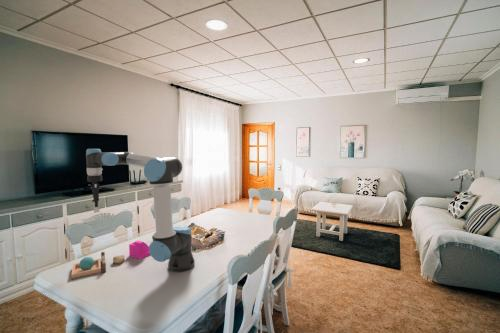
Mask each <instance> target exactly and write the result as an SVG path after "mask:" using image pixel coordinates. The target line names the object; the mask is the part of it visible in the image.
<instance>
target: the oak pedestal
mask: <svg viewBox="0 0 500 333" xmlns="http://www.w3.org/2000/svg"><path fill="white" fill-rule="evenodd" d="M112 261H113V264H114V265H121V264H124V262H125V255H123V254H119V255H115V256H113V258H112Z"/></svg>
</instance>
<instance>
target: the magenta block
mask: <svg viewBox="0 0 500 333" xmlns="http://www.w3.org/2000/svg"><path fill="white" fill-rule="evenodd" d="M149 246H150V245H148V244H147V243H145V242H144V241H142V240H135V241H133V242H132V243H129V245H128V248H129V252H128V253H129V256H130V257H132V258H136V259H139V260H142V259H143V258H146V257H149V256H151V255H150V252H149Z"/></svg>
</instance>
